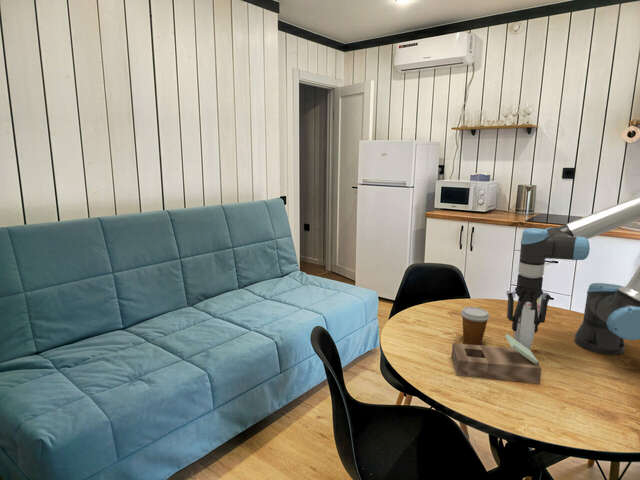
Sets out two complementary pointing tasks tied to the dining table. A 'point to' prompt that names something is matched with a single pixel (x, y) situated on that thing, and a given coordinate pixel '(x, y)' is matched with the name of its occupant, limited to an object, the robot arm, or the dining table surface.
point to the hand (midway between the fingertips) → (523, 340)
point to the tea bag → (537, 304)
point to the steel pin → (526, 326)
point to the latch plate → (521, 349)
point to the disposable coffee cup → (474, 325)
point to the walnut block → (494, 363)
